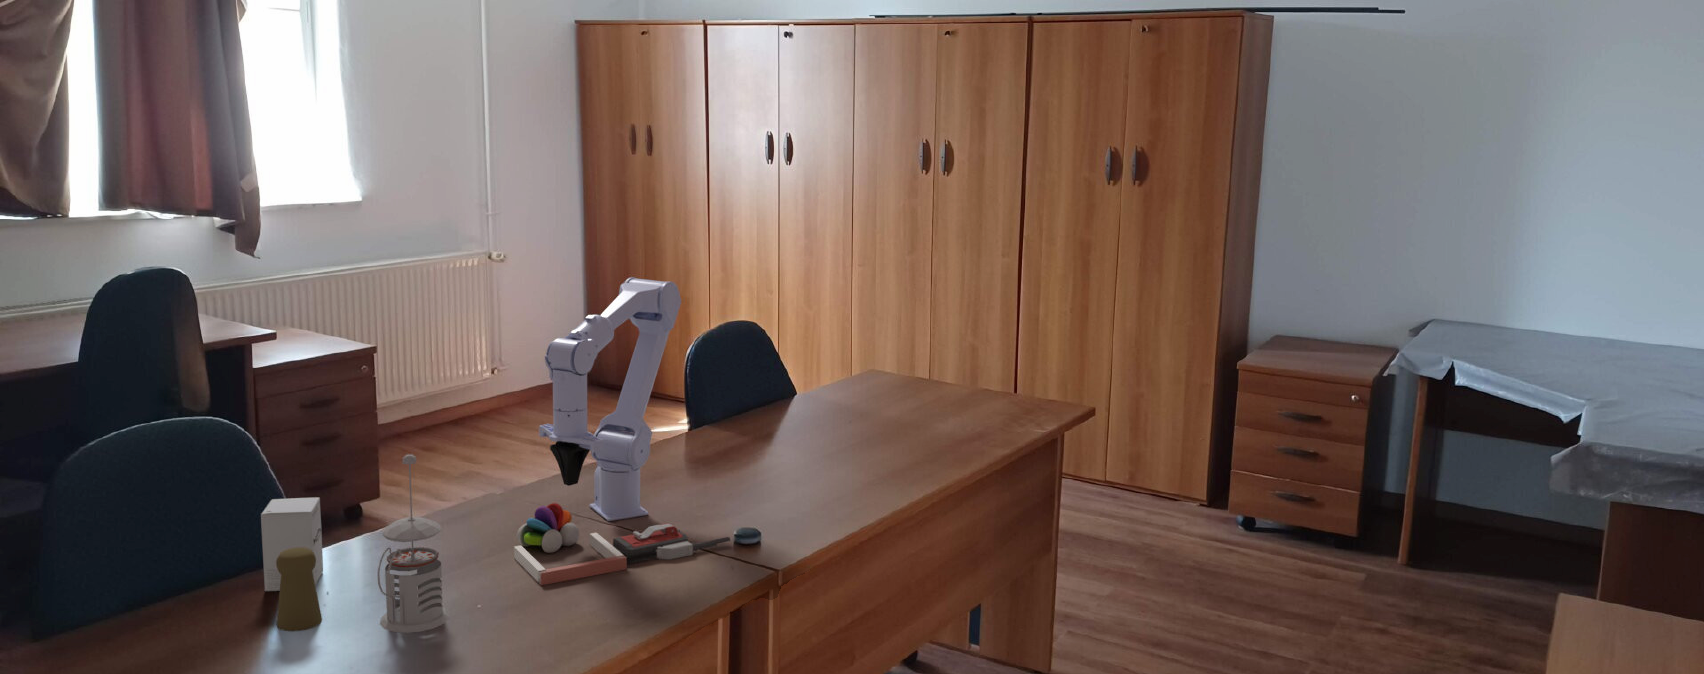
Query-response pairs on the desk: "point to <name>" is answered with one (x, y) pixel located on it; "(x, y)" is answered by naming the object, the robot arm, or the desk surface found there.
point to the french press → (409, 608)
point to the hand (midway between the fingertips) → (570, 483)
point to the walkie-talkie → (659, 544)
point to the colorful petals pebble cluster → (549, 529)
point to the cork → (297, 590)
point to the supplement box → (290, 534)
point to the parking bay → (569, 572)
